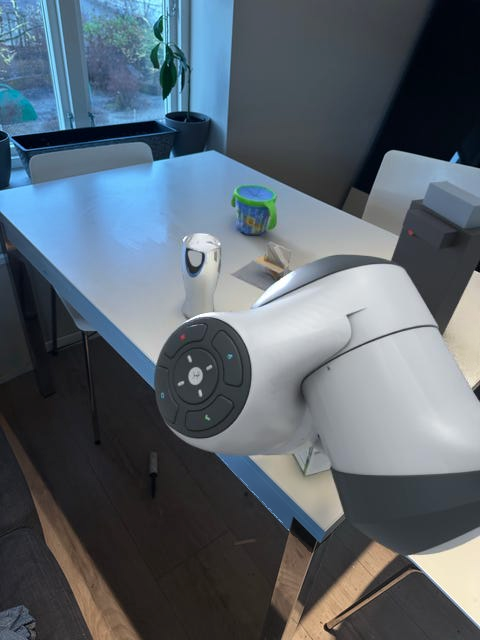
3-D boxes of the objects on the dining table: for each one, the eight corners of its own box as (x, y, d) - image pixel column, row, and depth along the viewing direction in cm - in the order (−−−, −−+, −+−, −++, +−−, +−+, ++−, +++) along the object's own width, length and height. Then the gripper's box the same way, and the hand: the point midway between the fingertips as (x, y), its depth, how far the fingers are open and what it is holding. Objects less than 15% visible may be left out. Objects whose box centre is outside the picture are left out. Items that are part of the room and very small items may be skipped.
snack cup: (284, 239, 114) (291, 201, 108) (250, 246, 109) (255, 207, 103) (251, 214, 124) (256, 178, 118) (218, 220, 119) (221, 183, 113)
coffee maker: (380, 355, 81) (434, 217, 65) (336, 311, 91) (374, 181, 74) (440, 339, 87) (504, 208, 70) (394, 299, 96) (440, 176, 80)
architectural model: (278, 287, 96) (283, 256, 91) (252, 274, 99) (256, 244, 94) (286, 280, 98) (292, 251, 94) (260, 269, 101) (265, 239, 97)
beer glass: (194, 327, 82) (198, 255, 73) (173, 308, 86) (174, 238, 77) (224, 314, 86) (231, 245, 77) (202, 297, 90) (206, 229, 81)
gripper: (407, 438, 35) (412, 441, 47) (211, 321, 44) (258, 349, 56) (366, 509, 35) (381, 494, 47) (178, 376, 44) (232, 393, 56)
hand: (313, 414), depth 52 cm, fingers open, 8 cm apart
